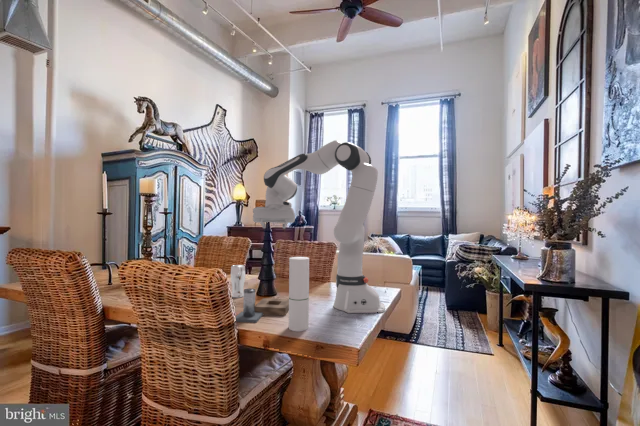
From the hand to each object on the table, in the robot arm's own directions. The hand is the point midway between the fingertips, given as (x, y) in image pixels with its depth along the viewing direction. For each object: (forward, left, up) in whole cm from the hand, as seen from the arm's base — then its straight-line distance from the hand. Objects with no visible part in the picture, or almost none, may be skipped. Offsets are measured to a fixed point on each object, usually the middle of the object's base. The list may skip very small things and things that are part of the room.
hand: (274, 227), depth 147 cm
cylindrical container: (-18, +33, -35) cm, 51 cm away
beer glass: (+19, -5, -35) cm, 40 cm away
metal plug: (+3, +26, -33) cm, 42 cm away
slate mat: (+3, +26, -34) cm, 43 cm away
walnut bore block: (-4, +14, -34) cm, 37 cm away
